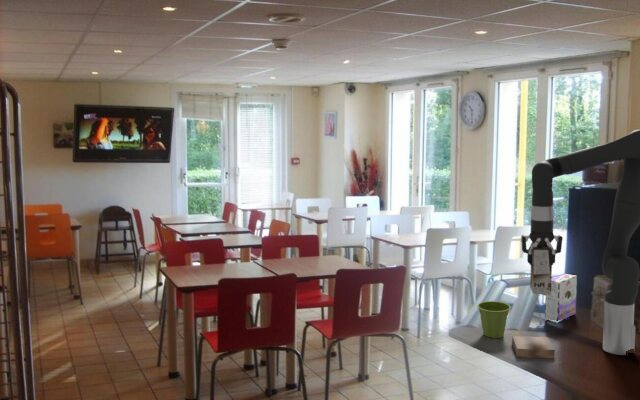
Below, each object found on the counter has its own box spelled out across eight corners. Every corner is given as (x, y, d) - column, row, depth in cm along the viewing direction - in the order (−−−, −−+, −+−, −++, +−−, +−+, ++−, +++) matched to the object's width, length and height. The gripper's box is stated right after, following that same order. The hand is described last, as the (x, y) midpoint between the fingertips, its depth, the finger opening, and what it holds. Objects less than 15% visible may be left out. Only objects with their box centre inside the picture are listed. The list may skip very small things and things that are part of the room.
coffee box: (551, 294, 232) (552, 249, 229) (532, 294, 233) (533, 249, 231) (548, 287, 240) (549, 244, 238) (529, 287, 242) (530, 243, 239)
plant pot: (470, 334, 246) (470, 305, 244) (492, 327, 252) (492, 299, 250) (494, 343, 236) (495, 313, 234) (517, 336, 242) (517, 306, 240)
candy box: (562, 312, 268) (564, 272, 266) (576, 315, 264) (577, 275, 261) (544, 320, 259) (545, 279, 257) (557, 323, 255) (559, 282, 252)
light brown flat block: (547, 345, 233) (547, 337, 232) (554, 358, 221) (554, 349, 221) (512, 344, 235) (512, 336, 234) (517, 357, 223) (517, 348, 222)
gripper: (561, 216, 235) (559, 262, 238) (519, 216, 237) (518, 261, 240) (565, 220, 228) (564, 267, 231) (522, 220, 230) (521, 266, 233)
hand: (541, 264), depth 235 cm, fingers closed on coffee box, 6 cm apart
